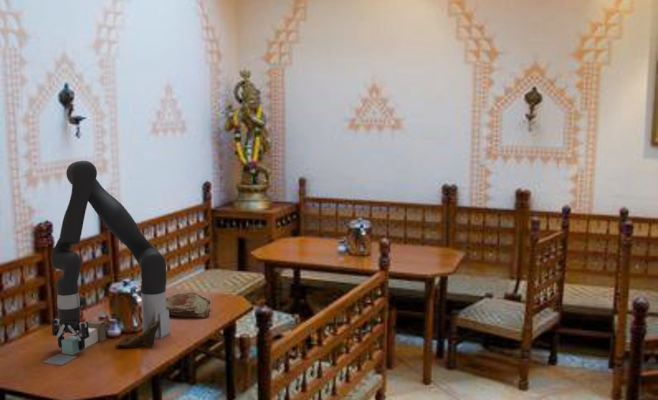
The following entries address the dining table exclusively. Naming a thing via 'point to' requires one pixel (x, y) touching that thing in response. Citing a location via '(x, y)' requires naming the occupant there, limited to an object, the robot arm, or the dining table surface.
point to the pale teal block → (70, 345)
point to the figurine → (82, 302)
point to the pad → (60, 359)
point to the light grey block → (95, 332)
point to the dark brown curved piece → (141, 338)
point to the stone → (188, 305)
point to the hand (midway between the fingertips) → (71, 348)
